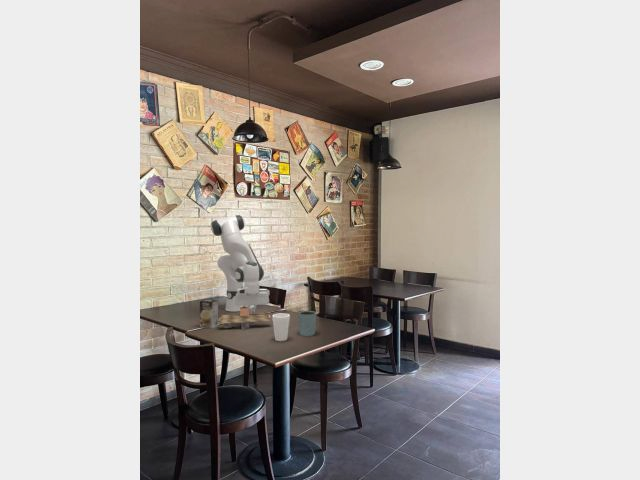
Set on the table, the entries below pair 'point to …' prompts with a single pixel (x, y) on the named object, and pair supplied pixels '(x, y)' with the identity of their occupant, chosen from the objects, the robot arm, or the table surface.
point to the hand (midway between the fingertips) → (252, 312)
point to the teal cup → (307, 323)
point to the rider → (244, 311)
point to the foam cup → (281, 326)
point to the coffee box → (208, 313)
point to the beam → (243, 319)
